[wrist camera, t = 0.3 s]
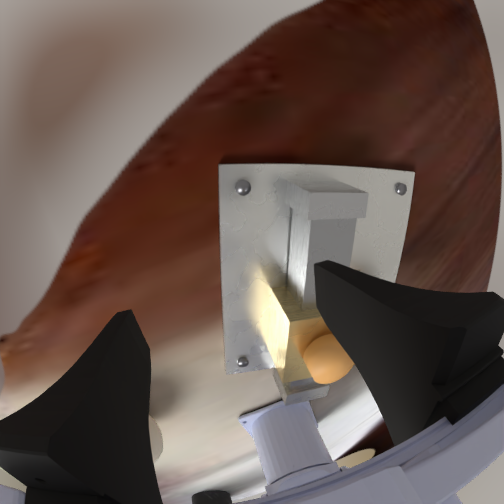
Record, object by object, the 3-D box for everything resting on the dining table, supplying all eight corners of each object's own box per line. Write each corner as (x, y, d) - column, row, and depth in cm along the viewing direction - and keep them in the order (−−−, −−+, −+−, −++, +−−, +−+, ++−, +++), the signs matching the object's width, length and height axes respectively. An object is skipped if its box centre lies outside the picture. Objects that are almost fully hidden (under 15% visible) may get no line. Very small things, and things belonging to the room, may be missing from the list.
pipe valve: (318, 366, 28) (337, 398, 24) (264, 376, 27) (278, 412, 22) (347, 180, 20) (384, 195, 16) (274, 179, 19) (300, 195, 15)
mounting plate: (373, 341, 29) (378, 346, 28) (225, 370, 26) (226, 376, 25) (410, 170, 22) (417, 173, 21) (218, 163, 18) (219, 165, 18)
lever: (300, 371, 20) (309, 389, 19) (306, 338, 19) (317, 357, 17) (423, 337, 23) (435, 349, 21) (434, 308, 22) (447, 319, 20)
